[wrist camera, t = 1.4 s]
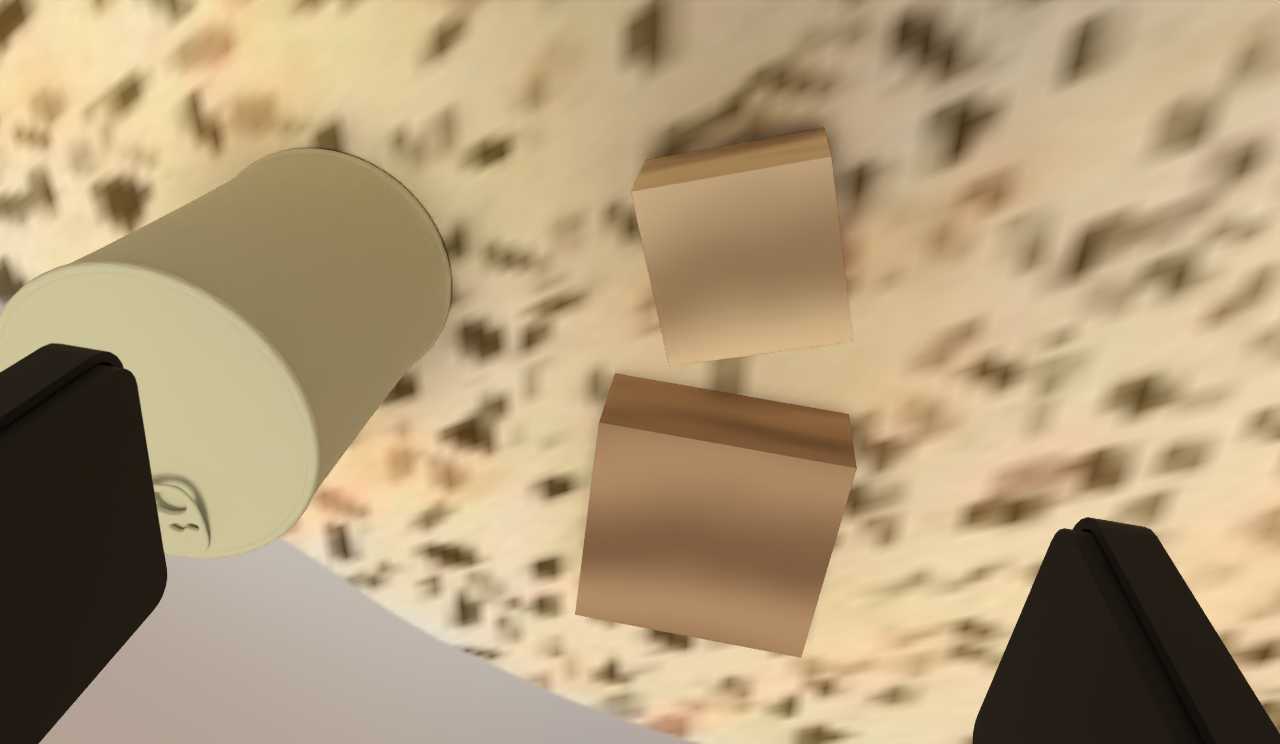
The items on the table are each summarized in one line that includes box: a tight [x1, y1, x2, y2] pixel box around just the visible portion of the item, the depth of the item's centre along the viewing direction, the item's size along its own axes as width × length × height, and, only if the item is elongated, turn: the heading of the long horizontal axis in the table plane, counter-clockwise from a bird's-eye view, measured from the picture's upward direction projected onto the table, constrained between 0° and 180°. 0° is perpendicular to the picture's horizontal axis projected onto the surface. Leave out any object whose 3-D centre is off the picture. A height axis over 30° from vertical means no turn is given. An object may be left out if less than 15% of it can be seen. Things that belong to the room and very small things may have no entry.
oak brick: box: [631, 128, 853, 366], centre depth 30 cm, size 6×6×4 cm
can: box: [0, 148, 451, 559], centre depth 29 cm, size 9×9×12 cm
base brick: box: [575, 374, 857, 657], centre depth 35 cm, size 9×9×4 cm
